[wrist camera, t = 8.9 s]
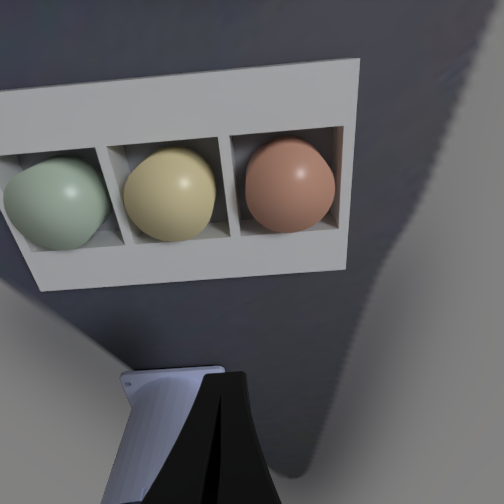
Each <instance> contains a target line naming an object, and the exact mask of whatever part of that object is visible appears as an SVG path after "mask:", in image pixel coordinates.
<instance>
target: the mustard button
mask: <svg viewBox="0 0 504 504" xmlns="http://www.w3.org/2000/svg"><path fill="white" fill-rule="evenodd" d="M216 193H217V181H216V177H215V174H214V171H213V169H212V167H211V166H210V164H209V163H208V162H207V161H206V160H205V159H204V158H203V157H202V156H201V155H200V154H198V153H197V152H195V151H193V150H191V149H189V148H186V147H182V146H165V147H162V148H159V149H157V150H155V151H153V152H152V153H151V154H150V155H148V156H147V157H146V158H145V159H144V160H143V161H142V162H141V163H140V164H139V165H138V166H137V167H136V168H135V169H134V170H133V172H132V173H131V174H130V175H129V177H128V179H127V181H126V184H125V187H124V204H125V208H126V210H127V213H128V215H129V217H130V218H131V220H132V221H133V222H134V224H135V225H136V226H137V227H138V228H139V229H140V230H142V231H143V232H144V233H146V234H148V235H149V236H151V237H153V238H156V239H159V240H162V241H169V242H179V241H184V240H188V239H190V238H193V237H194V236H196V235H198V234H199V233H200V232H201V231H202V230H203V229H204V228H205V227H206V226H207V224H208V222H209V221H210V218H211V215H212V211H213V207H214V202H215V198H216Z"/></svg>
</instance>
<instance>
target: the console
mask: <svg viewBox="0 0 504 504" xmlns="http://www.w3.org/2000/svg"><path fill="white" fill-rule="evenodd" d="M359 67H360V58H338V59H327V60H316V61H306V62H295V63H284V64H274V65H263V66H252V67H241V68H231V69H220V70H209V71H199V72H188V73H177V74H167V75H156V76H145V77H134V78H124V79H113V80H102V81H92V82H81V83H70V84H60V85H49V86H38V87H28V88H17V89H6V90H0V210H1V212H2V214H3V216H4V218H5V220H6V222H7V224H8V226H9V228H10V230H11V232H12V234H13V236H14V238H15V240H16V242H17V244H18V246H19V248H20V250H21V252H22V254H23V256H24V258H25V260H26V262H27V264H28V266H29V268H30V271H31V273H32V275H33V277H34V279H35V281H36V283H37V285H38V287H39V289H40V291H55V290H68V289H82V288H96V287H110V286H123V285H137V284H151V283H165V282H178V281H192V280H206V279H220V278H233V277H247V276H261V275H275V274H288V273H302V272H316V271H330V270H343V269H346V256H347V241H348V227H349V212H350V198H351V183H352V168H353V154H354V139H355V125H356V110H357V96H358V81H359ZM280 136H295V137H298V138H301V139H304V140H306V141H307V142H309V143H310V144H312V145H313V146H314V147H315V148H316V149H317V151H318V152H319V154H320V155H321V156H322V158H323V159H324V160H325V162H326V163H327V165H328V166H329V168H330V169H331V172H332V174H333V177H334V182H335V194H334V199H333V202H332V205H331V207H330V209H329V210H328V212H327V213H326V215H325V216H324V217H323V218H322V219H321V220H320V221H319V222H318V223H316V224H315V225H313V226H312V227H310V228H308V229H306V230H303V231H299V232H295V233H280V232H276V231H273V230H270V229H268V228H266V227H264V226H263V225H261V224H260V223H259V222H258V221H257V220H256V219H255V218H254V217H253V215H252V214H251V212H250V210H249V208H248V205H247V202H246V194H245V188H246V169H247V165H248V162H249V160H250V158H251V156H252V155H253V153H254V152H255V151H256V149H257V148H258V147H259V146H261V145H262V144H263V143H265V142H266V141H268V140H270V139H273V138H276V137H280ZM165 146H182V147H186V148H189V149H191V150H193V151H195V152H197V153H198V154H200V155H201V156H202V157H203V158H204V159H205V160H206V161H207V162H208V163H209V164H210V166H211V167H212V169H213V171H214V174H215V177H216V181H217V193H216V198H215V202H214V207H213V211H212V215H211V218H210V221H209V222H208V224H207V226H206V227H205V228H204V229H203V230H202V231H201V232H200V233H199V234H198V235H196V236H194V237H193V238H190V239H188V240H184V241H179V242H169V241H162V240H159V239H156V238H153V237H151V236H149V235H148V234H146V233H144V232H143V231H142V230H140V229H139V228H138V227H137V226H136V225H135V224H134V222H133V221H132V220H131V218H130V217H129V215H128V213H127V210H126V208H125V204H124V187H125V184H126V181H127V179H128V177H129V175H130V174H131V173H132V172H133V170H134V169H135V168H136V167H137V166H138V165H139V164H140V163H141V162H142V161H143V160H144V159H145V158H146V157H147V156H148V155H150V154H151V153H152V152H153V151H155V150H157V149H159V148H162V147H165ZM58 155H67V156H73V157H77V158H79V159H82V160H84V161H86V162H88V163H89V164H91V165H92V166H94V167H95V168H96V169H97V170H98V171H99V172H100V173H101V174H102V175H103V176H104V178H105V181H106V185H107V188H108V191H109V194H110V198H111V201H112V204H113V205H112V210H111V212H110V214H109V216H108V218H107V219H106V220H105V221H104V222H103V223H102V225H101V226H100V227H99V228H98V229H97V230H96V231H95V233H94V234H93V235H92V236H91V237H90V238H89V240H88V241H87V242H85V243H84V244H83V245H81V246H80V247H77V248H75V249H71V250H53V249H48V248H45V247H42V246H40V245H37V244H35V243H34V242H32V241H30V240H29V239H27V238H26V237H25V236H23V235H22V234H21V233H20V232H19V231H18V230H17V229H16V228H15V227H14V226H13V224H12V223H11V221H10V220H9V218H8V216H7V214H6V211H5V208H4V202H3V194H4V190H5V187H6V185H7V183H8V182H9V181H10V179H11V178H12V177H14V176H15V175H16V174H18V173H20V172H22V171H24V170H26V169H28V168H30V167H32V166H34V165H36V164H38V163H40V162H42V161H44V160H46V159H48V158H50V157H53V156H58Z"/></svg>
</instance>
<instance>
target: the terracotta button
mask: <svg viewBox="0 0 504 504" xmlns="http://www.w3.org/2000/svg"><path fill="white" fill-rule="evenodd" d="M245 194H246V202H247V205H248V208H249V210H250V212H251V214H252V215H253V217H254V218H255V219H256V220H257V221H258V222H259V223H260V224H261V225H263V226H264V227H266V228H268V229H270V230H273V231H276V232H280V233H295V232H299V231H303V230H306V229H308V228H310V227H312V226H313V225H315V224H316V223H318V222H319V221H320V220H321V219H322V218H323V217H324V216H325V215H326V213H327V212H328V210H329V209H330V207H331V205H332V202H333V199H334V194H335V182H334V177H333V174H332V172H331V169H330V168H329V166H328V165H327V163H326V162H325V160H324V159H323V158H322V156H321V155H320V154H319V152H318V151H317V149H316V148H315V147H314V146H313V145H312V144H310V143H309V142H307V141H306V140H304V139H301V138H298V137H295V136H280V137H276V138H273V139H270V140H268V141H266V142H265V143H263V144H262V145H261V146H259V147H258V148H257V149H256V151H255V152H254V153H253V155H252V156H251V158H250V160H249V162H248V165H247V169H246V188H245Z"/></svg>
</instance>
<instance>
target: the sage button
mask: <svg viewBox="0 0 504 504" xmlns="http://www.w3.org/2000/svg"><path fill="white" fill-rule="evenodd" d="M3 202H4V208H5V211H6V214H7V216H8V218H9V220H10V221H11V223H12V224H13V226H14V227H15V228H16V229H17V230H18V231H19V232H20V233H21V234H22V235H23V236H25V237H26V238H27V239H29V240H30V241H32V242H34V243H35V244H37V245H40V246H42V247H45V248H48V249H53V250H71V249H75V248H77V247H80V246H81V245H83V244H84V243H85V242H87V241H88V240H89V238H90V237H91V236H92V235H93V234H94V233H95V231H96V230H97V229H98V228H99V227H100V226H101V225H102V223H103V222H104V221H105V220H106V219H107V218H108V216H109V214H110V212H111V210H112V205H113V204H112V201H111V198H110V194H109V191H108V188H107V185H106V181H105V178H104V176H103V175H102V174H101V173H100V172H99V171H98V170H97V169H96V168H95V167H94V166H92V165H91V164H89V163H88V162H86V161H84V160H82V159H79V158H77V157H73V156H67V155H58V156H53V157H50V158H48V159H46V160H44V161H42V162H40V163H38V164H36V165H34V166H32V167H30V168H28V169H26V170H24V171H22V172H20V173H18V174H16V175H15V176H14V177H12V178H11V179H10V181H9V182H8V183H7V185H6V187H5V190H4V194H3Z"/></svg>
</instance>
